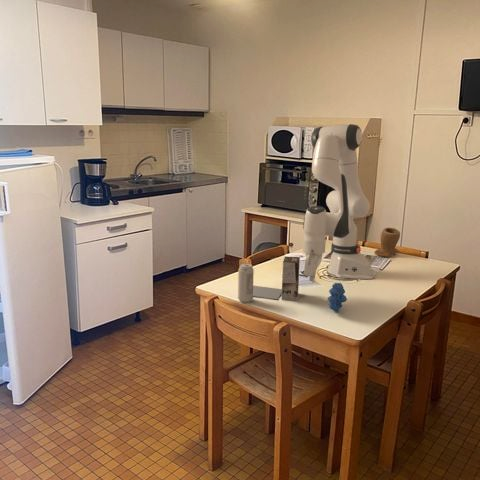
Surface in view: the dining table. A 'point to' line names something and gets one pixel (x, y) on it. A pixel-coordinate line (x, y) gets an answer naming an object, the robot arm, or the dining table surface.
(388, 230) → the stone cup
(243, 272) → the energy drink can
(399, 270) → the dining table surface
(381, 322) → the dining table surface
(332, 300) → the grapes
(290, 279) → the coffee box
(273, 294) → the mat
